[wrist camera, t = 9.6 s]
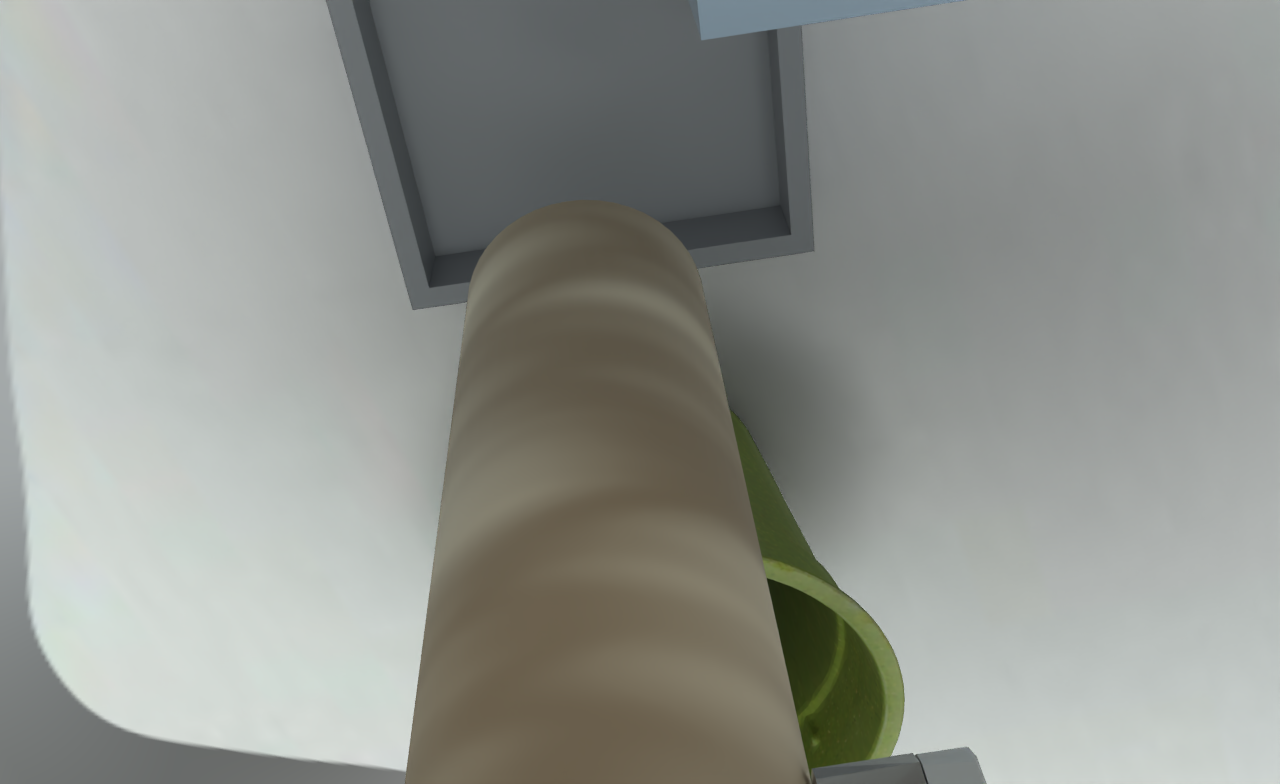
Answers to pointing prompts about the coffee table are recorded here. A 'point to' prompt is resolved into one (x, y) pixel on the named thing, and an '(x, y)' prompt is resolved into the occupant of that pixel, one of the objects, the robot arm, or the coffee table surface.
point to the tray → (574, 125)
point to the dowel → (597, 530)
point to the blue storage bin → (785, 13)
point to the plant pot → (822, 636)
